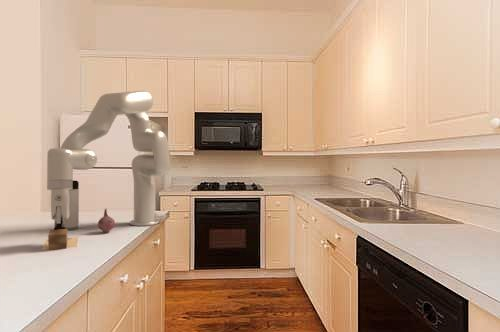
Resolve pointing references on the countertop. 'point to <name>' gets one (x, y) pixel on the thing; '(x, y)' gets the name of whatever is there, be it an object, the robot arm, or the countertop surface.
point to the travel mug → (73, 208)
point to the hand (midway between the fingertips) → (59, 238)
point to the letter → (70, 243)
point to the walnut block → (57, 239)
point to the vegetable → (106, 223)
